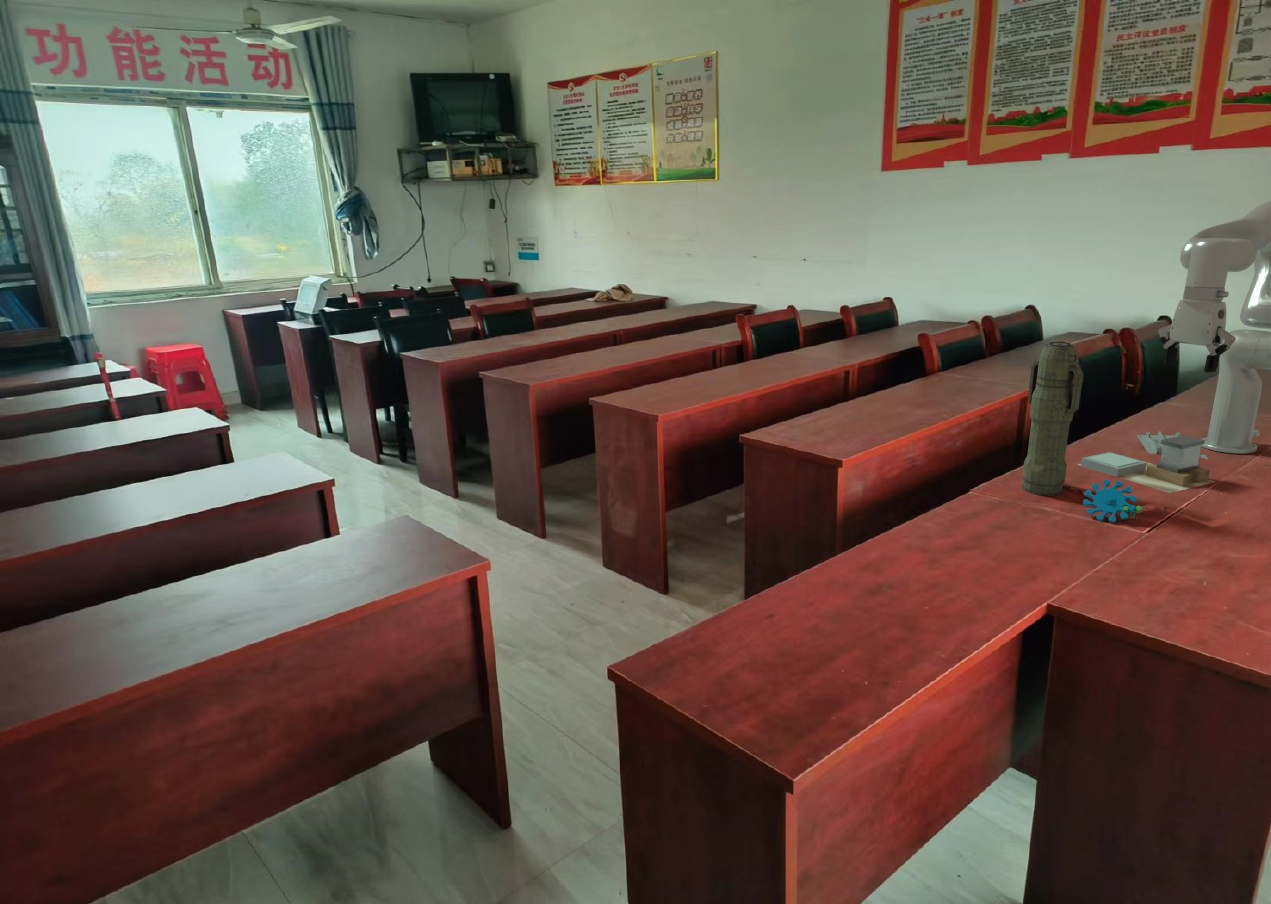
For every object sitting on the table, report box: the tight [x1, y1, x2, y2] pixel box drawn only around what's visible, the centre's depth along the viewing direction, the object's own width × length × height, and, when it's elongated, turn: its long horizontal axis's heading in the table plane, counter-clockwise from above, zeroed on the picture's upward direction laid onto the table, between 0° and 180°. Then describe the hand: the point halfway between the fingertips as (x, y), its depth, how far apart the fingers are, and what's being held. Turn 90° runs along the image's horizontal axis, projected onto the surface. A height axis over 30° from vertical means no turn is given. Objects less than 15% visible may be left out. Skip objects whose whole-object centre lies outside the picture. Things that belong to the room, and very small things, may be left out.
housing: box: [1156, 434, 1205, 474], centre depth 189 cm, size 8×5×7 cm, turn 113°
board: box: [1077, 454, 1216, 494], centre depth 195 cm, size 16×24×1 cm, turn 23°
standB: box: [1080, 451, 1147, 478], centre depth 198 cm, size 10×10×2 cm
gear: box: [1082, 479, 1143, 524], centre depth 172 cm, size 11×6×10 cm
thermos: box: [1021, 341, 1084, 497], centre depth 184 cm, size 9×12×35 cm
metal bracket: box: [1137, 431, 1209, 460], centre depth 210 cm, size 14×6×15 cm
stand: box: [1145, 462, 1211, 487], centre depth 190 cm, size 9×9×2 cm
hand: (1188, 368), depth 187 cm, fingers open, 9 cm apart
